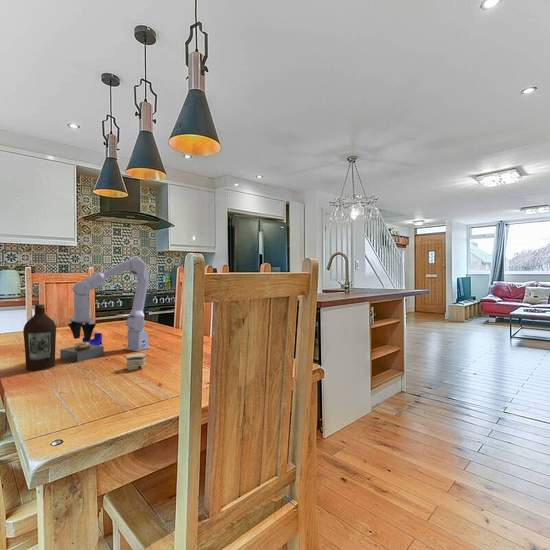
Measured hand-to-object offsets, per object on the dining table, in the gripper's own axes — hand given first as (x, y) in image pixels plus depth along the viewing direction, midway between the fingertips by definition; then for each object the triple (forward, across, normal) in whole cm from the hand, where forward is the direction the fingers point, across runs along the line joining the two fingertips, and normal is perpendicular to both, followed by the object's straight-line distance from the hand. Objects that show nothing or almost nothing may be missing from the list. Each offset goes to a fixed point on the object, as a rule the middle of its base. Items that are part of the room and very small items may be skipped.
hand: (82, 339), depth 145 cm
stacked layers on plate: (+8, +36, -1) cm, 37 cm away
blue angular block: (+8, -15, +14) cm, 22 cm away
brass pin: (+8, 0, 0) cm, 8 cm away
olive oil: (+8, 0, -17) cm, 19 cm away
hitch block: (+8, 0, 0) cm, 8 cm away
